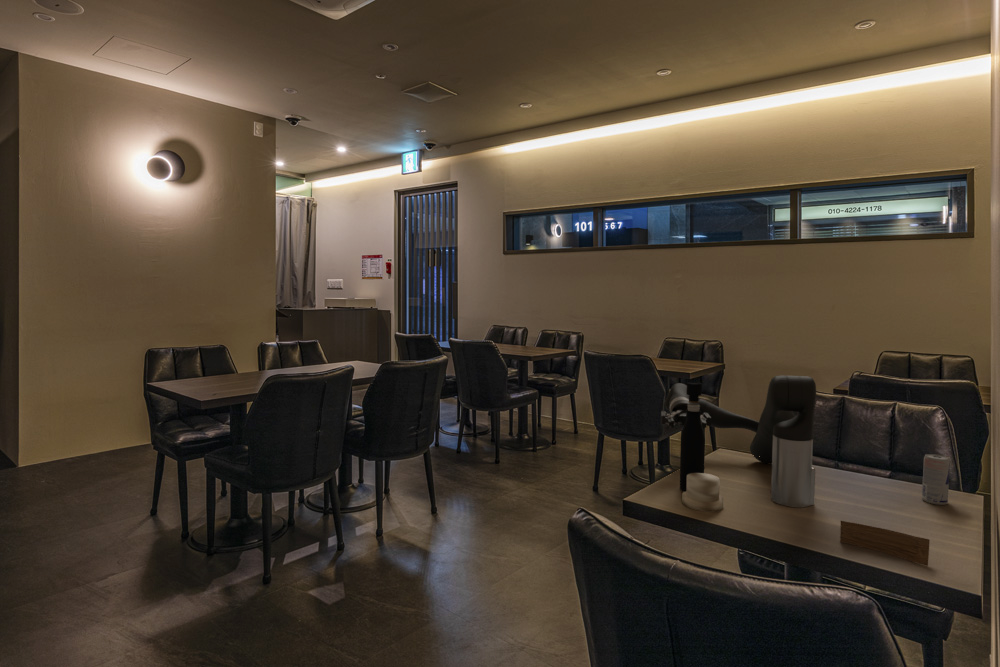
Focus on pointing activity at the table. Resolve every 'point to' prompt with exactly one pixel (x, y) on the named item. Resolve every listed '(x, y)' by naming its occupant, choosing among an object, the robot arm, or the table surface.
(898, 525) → the table surface
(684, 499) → the plinth
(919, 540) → the wood plank
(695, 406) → the black bottle
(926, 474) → the energy drink
